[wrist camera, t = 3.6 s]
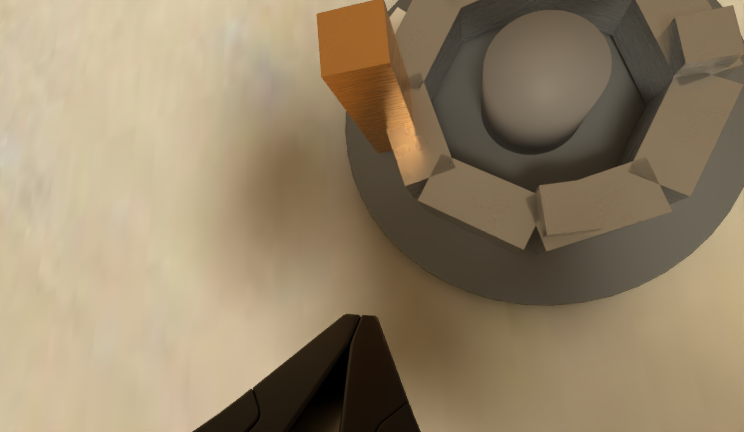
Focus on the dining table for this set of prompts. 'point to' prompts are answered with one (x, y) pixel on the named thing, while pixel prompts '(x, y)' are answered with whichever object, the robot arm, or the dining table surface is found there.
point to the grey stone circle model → (545, 162)
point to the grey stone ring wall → (551, 201)
